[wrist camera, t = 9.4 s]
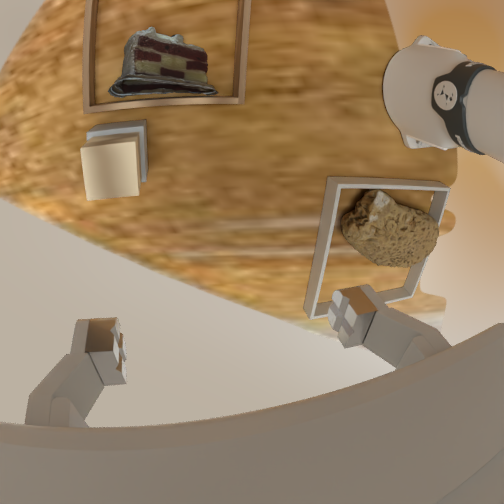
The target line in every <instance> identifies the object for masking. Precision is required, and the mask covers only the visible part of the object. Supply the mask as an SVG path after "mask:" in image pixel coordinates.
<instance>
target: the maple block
mask: <svg viewBox="0 0 504 504" xmlns="http://www.w3.org/2000/svg"><path fill="white" fill-rule="evenodd" d="M80 149H81V159H82V167H83V175H84V183H85V190H86V197H87V201H91V200H99V199H108V198H118V197H127V196H138V195H139V192H140V186H141V180H142V173H141V156H140V134H139V132H130V133H120V134H111V135H103V136H95V137H91V138H90V139H89V140H88V141H87V142H86V143H85V144H84V145H83V146H82V147H81V148H80Z"/></svg>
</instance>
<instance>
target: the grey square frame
mask: <svg viewBox="0 0 504 504" xmlns="http://www.w3.org/2000/svg"><path fill="white" fill-rule="evenodd" d="M341 188H372V189H411V190H434V191H435V193H434V196H433V200H432V204H431V207H430V211H429V214H428V215H430V216H432V217H433V218H434V219H435V220H436V221H437V223H438V225H440V222H441V219H442V216H443V213H444V209H445V206H446V203H447V199H448V195H449V192H450V188H449V187H448V186H446V185H444V184H443V183H441V182H437V181H424V180H409V179H391V178H368V177H327V184H326V190H325V196H324V202H323V208H322V214H321V220H320V226H319V231H318V237H317V242H316V248H315V253H314V258H313V263H312V268H311V274H310V278H309V283H308V288H307V293H306V298H305V303H304V307H303V309H304V311H305V312H306V314H307V316H308V318H309V319H310V320H311V319H317V318H322V317H327V316H328V310H329V307H330V306H331V304H332V303H333V302H334V301H330V302H324V303H318V304H317V301H318V297H319V292H320V288H321V284H322V280H323V275H324V271H325V266H326V262H327V257H328V253H329V248H330V243H331V238H332V233H333V228H334V223H335V218H336V213H337V208H338V202H339V197H340V191H341ZM428 257H429V255H428V256H427V257H426V258H424V259H423V261H422V262H419V263H417V264H415V265H412V266H411V268H410V271H409V274H408V276H407V279H406V281H405V284H404V287H401V288H396V289H392V290H387V291H382V292H377V295H378V296H379V297H380V298H381V299H382V300H383V302H384V303H385V304H387V303H391V302H396V301H400V300H404V299H408V298H412V297H413V295H414V292H415V290H416V288H417V285H418V283H419V280H420V278H421V275H422V273H423V270H424V267H425V265H426V262H427V259H428Z"/></svg>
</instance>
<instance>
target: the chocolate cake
mask: <svg viewBox="0 0 504 504" xmlns="http://www.w3.org/2000/svg"><path fill="white" fill-rule="evenodd" d="M124 53H125V57H124V61H123V69H122V75H121V77H119V78H118V79H117V80H116V81H115V83H114V84H113V85H112V86H111V87H110V89H109V90H108V92H109V93H110V95H112V96H114V97H121V98H123V97H125V96H132V95H140V94H152V93H158V94H159V93H161V94H166V93H173V92H176V93H199V94H201V93H203V94H205V95H214V94H217V93H219V92H217V91H216V90H215V89H214V87H213V86H212V85H208V84H207V76H206V73H207V69H208V68H207V66H208V64H207V54H206V52H205V51H204V49H203V48H200V47H197V46H194V45H187V44H185V43H183V36H181V35H179V34H177V35H173V36H172V37H169V36H167V35H162V34H159V33H156V30H155V28H154V27H150V28H149V29H147V30H142V31H138V32H136V33H135V34H134V35H132V36H131V37H130V38H129V40H128V42H127V44H126V45H125V48H124Z"/></svg>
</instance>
